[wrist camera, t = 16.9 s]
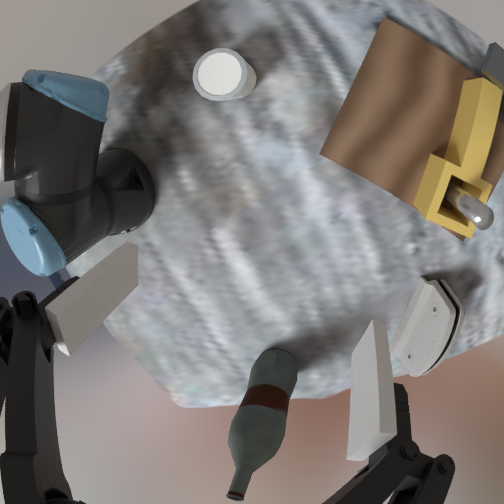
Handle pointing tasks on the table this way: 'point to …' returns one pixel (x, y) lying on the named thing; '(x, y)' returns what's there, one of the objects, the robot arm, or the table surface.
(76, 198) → the robot arm
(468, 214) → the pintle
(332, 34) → the table surface
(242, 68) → the white cylinder
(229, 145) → the table surface
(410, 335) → the white d-shaped block
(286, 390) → the bottle
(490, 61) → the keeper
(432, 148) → the board
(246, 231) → the table surface
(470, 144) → the link
